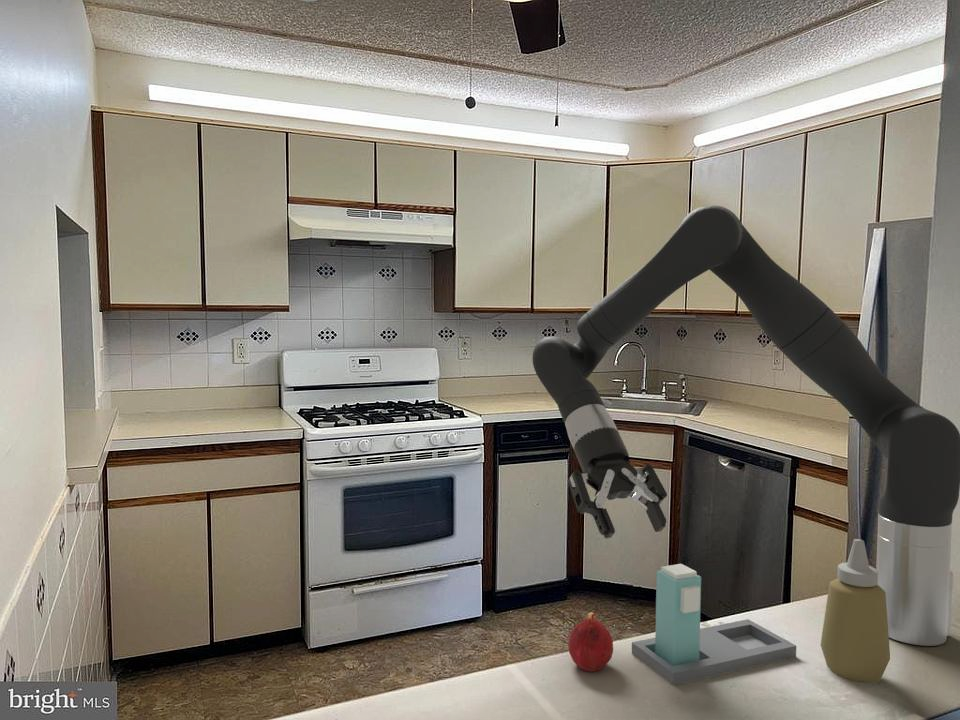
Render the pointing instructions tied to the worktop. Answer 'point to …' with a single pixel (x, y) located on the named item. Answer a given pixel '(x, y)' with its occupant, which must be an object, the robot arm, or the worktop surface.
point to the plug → (678, 614)
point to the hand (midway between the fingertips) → (636, 532)
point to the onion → (590, 644)
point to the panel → (720, 652)
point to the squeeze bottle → (856, 621)
